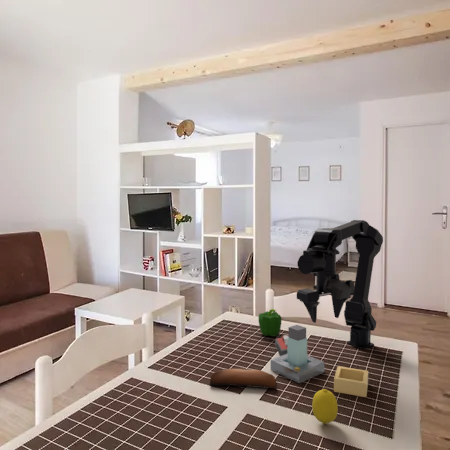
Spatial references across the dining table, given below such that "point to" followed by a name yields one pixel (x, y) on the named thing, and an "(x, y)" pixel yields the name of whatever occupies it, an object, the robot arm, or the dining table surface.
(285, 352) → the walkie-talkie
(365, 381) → the yellow square socket
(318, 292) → the robot arm
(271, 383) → the sunglasses case
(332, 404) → the lemon
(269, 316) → the bell pepper
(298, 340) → the plug
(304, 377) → the port block
